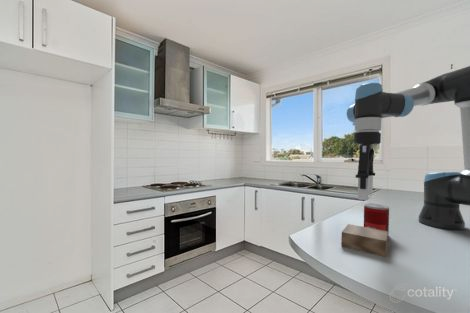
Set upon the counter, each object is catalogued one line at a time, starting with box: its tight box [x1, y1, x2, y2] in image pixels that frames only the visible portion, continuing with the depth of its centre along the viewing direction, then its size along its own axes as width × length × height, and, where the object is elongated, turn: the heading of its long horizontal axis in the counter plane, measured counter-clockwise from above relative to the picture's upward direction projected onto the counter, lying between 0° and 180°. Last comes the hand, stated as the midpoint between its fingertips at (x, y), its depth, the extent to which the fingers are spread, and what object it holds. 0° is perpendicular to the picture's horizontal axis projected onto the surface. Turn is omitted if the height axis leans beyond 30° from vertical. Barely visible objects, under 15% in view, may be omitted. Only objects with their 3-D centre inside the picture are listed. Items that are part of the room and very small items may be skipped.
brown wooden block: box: [340, 223, 389, 258], centre depth 74 cm, size 12×11×5 cm
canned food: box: [363, 202, 390, 236], centre depth 85 cm, size 8×8×11 cm
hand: (365, 196), depth 74 cm, fingers open, 13 cm apart
